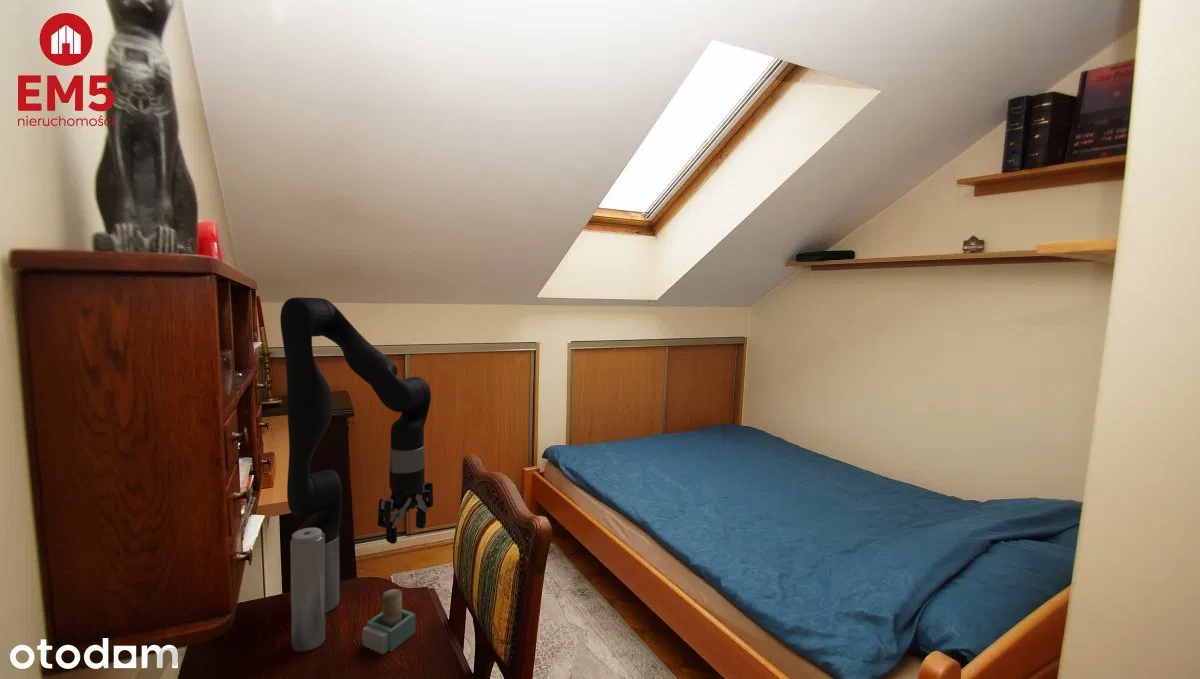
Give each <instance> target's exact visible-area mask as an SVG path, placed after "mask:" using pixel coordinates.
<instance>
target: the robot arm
mask: <svg viewBox="0 0 1200 679" xmlns="http://www.w3.org/2000/svg"><path fill="white" fill-rule="evenodd" d="M279 318H280V319H279V321H280V330H281V331H280V332H281V338H282V343H283V344H282V345H283V352H284V358H285V371H286V372H285V373H286V389H287V390H286V391H287V392H286V407H287V408H286V409H287V425H288V426H287V428H288V449H289V450H288V468H287V480H286V481H287V483H286V484H287V486H286V498H287V505H288V510H290V513H291V515H293V516H294V517H297V518H300V517H306V516H309V515H313V516H311V517H310V518H309V519H308V520H306V521H305V522H303V523H302V524H301V525H299V527H297V529H296V531H298V530H301V529H305V528H319V529H321V531H322V532H324V534H325V614H326V613H328V612H331V611H332V610H333V609H335V608H336V607H337V606H338V605H339V602H340V528H341V524H342V507H343V484H342V480H341V477H340V475H339V474H338V472H337V471H336V470H334V469H326V470H321V471H317V472H313V473H310V471H311V470H310V469H311V463H312V459H313V456H314V453H315V452H316V449H317V447H318V446H319V444H320V442H321V440H322V439H323V438H324V436H325V434H326V432H327V430H328V429H329V426H330V424H331V422H332V418H333V405H332V404H333V400H332V399H333V397H332V391H331V387H330V385H329V384H328V381H327V380H326V378H325V377H324V375H323V373H322V372H321V370H320V369H319V367H318V365H317V363H316V361H315V358H314V351H313V337H324V338H326V339H328V340H330V341H331V342H333V343H334V344H336V345H337V346H338V347H339V348H340V350H341V351H342V353H343V357H344V360H345V361H346V364H347V365H348V367H349V368H350V369H351V371H353V372H354V373H355V375H357V376H358V377H360V378H361V379H362V380H363V381H365V382H366V383H367V384H368V385H370V386H371V388H372V390H373V391H374V393H375V395H377V397H378V398H379V400H380V401H381V403H382V404H383V405H384V406H385V407H386V408H387V409H389V410H391V411H393V412H396V413H401V414H400V417H399V418H398V419H397V420H395V421H394V422H393V423H392V424H391V428H390V451H389V460H388V462H389V466H388V468H389V471H388V472H389V474H388V480H389V482H388V483H389V484H388V486H389V488H390V490H391V495H390V497H389V498H386V499H383V498H381V499H379V500H378V508H377V509H378V510H377V511H378V512H377V516H378V517H377V526H378V527H380V528H384V529H385V541H386V542H387V543H388V544H391V545H395V544H396V543H398V527H397V525H398V523H399V521H400V519H402V518H403V517H404V515H405V513H407V512H409V511H410V510H413V509H415V510H416V511H415V526H416V528H418V529H424V528H425V527H426V523H427V512H428V510H429V508H433V505H434V491H433V489H434V487H433V486H434V485H433V483H432V482H428V481H425V479H426V478H425V474H426V473H425V468H426V467H425V466H426V465H425V464H426V462H425V461H426V456H425V447H424V446H425V431H424V430H425V424H426V422H427V417H428V414H429V410H430V406H431V401H432V399H431V398H432V392H431V388H430V385H429V383H428V382H427V380H426V379H424V378H422V377H421V376H412V377H408V378H403V379H400V378H398V377H397V375H398V371H399V369H398V366H397V364H395V362H394V361H392V359H390V358H389V357H388V356H387V355H385V354H383V352H381V351H380V350H379V349H377V348H376V347H375V346H374V345H372V344H371V343H370V342H369V341H368V340H367V339H365V337H364V336H363V335H362V334H361V333H360V332H359V331H358V330H357V329H356V328H355V327H354V325H353V324H352V323H351V322H350V321H349V320H348V319H347V318H346V316H345V315H344V314H343V313H342V312H341V311H340V310H339V308H338V307H337V306H335V305H334V303H332V302H331V300H328V299H325V298H321V297H303V296H301V297H299V296H297V297H291V298H289V299H287V300H286V301H285V302H284V303H283V305H282V306H281V311H280V317H279ZM395 510H396V512H395Z"/></svg>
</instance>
